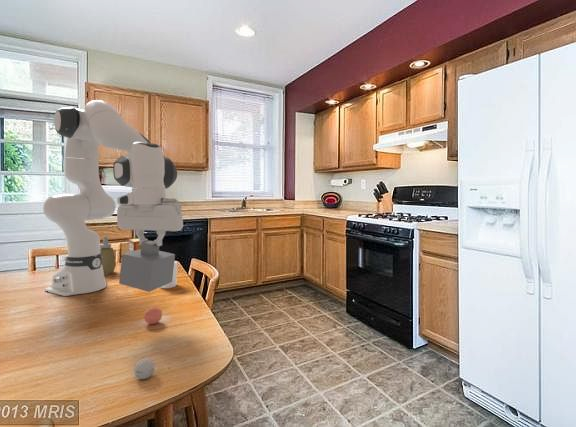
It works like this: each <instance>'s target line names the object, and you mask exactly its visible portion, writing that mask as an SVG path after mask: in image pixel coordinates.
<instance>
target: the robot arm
mask: <svg viewBox="0 0 576 427" xmlns="http://www.w3.org/2000/svg"><path fill="white" fill-rule="evenodd" d="M53 126H54V129H55V131H56V132H57V134H58V135H60V136H62V137H63V138H64V137H65V138H66V143H65V151H64V152H65V153H64V162H65V164H64V165H65V166H64V171H65V172H64V174H65V177H66V179H67V180H68V181H69V182H71V183H72V184H74V185H76V186H77V187H78V189H79V193H60V194H56V195H51V196H48V198H46V200H45V201H44V203H43V206H42V207H43V214H44V215H45V217H46V219H48V220H50V221H51V222H52V223H55V224H56V225H57V226H58V227H59V228H60V229H61V230H62V232H63V234H64V237H65V239H66V246H67V255H66V257H63V258H62V260H63V261H65V262H64V266H63V267H61V269H58V271H57V272H55V273H54V274H53V275H52V280H51V283H52V284H51V285H50V286H47V287H46V288H45V289H44V291H45V292H47V291H48V293H51V294H55V295H59V296H63V297H68V296H73V295H74V296H75V295H81V294H82V295H83V294H89V293H94V292H97V291H100V290H103V289H105V288H107V283H108V282H107V279H105V274H104V271H103V266H102V264H101V262H102V253H100V244H101V240H100V235H99V233H98V232H96V231H95V230H94V229H93V230H92V229H89V228H88V226H87V224H86V221H96V220H102V219H106V218H109V217H112V216H113V215H114V213H115V212H116V222H117V223H116V224H117V226H118V229H120V230H128V231H131V230H132V231H135V232H134V233H135V235H136V237H137V239H139V244H140V245H141V244H142V242H145V241H149V239H148V238H146V237H145V234H144V233H145V231H156V235H157V237H156V239H154V240H153V241H154V246H159V247H161V246H163V239H164V237H165V235H166V234H167V233H166V232H178V231H181V230H182V229H183V227H184V221H183V220H184V219H183V213H182V203H181V202H180V200H177V198H167V197H166V189H169V188H170V187H172V185H173V184H174V183H175V182H176V180H177V178H178V169H177V167H176V165H175V163H174V162H173V160H171V159H170V158H169V157H168V156H165V155H164V154H163V149H162V147H161V146H160V145H159V144H156V143H152V142H151V141H150V140H149V139H148V138H147V137H146V136H144V135H143V134H142V133H141V132H139V131H138V130H136V129H135V128H134V127H132V126H130V124H129V123H127V122H126V120H124V119H123V118H122V116H121V115H120V114H119V113H118V111H117V110H116V109H115V108H114V107H113V106H112V105H110V104H109V103H108V102H106V101H104V100H100V99H98V100H97V99H96V100H95V99H94V100H91V101H89V102H88V103H86V105H85V106H84V109H82V108H81V109H80V108H76V107H60V108H59V109H57V110H56V111H55V114H54V117H53ZM99 144H100V145H102V146H103V147H106V148H108V149H113V150H118V151H124V152H128V153H126V154H125V155H121V156H120V157H118V158H117V159H116V160H115V161H114V162H113V166H112V170H113V171H112V172H113V173H112V174H113V177H114V180H115V181H116V182H117V183H118V185H120V186H122V187H126V188H131V191H130V192H128V193H125V194H123V195H120V196H118V197H117V199H116V200H117V202H116V201H115V200H114V198H113V197H112V196H111V195H110V194H108V193H107V192H106V191H105V189H104V188H103V185H102V183H101V181H100V180H101V179H100V171H99V165H100V164H99ZM116 203H117V204H118V205H119V206H118V207H117V209H116ZM63 261H62V262H63Z"/></svg>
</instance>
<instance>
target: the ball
mask: <svg viewBox="0 0 576 427" xmlns="http://www.w3.org/2000/svg"><path fill="white" fill-rule="evenodd" d="M143 318H144V321H145V322H146V323H147V324H150V325H155V324H157V323H159V322H160V321H161V320H162V318H163V312H162V310H161V308H159V307H158V306H151V307H149V308H147V309H146V311H144V314H143Z"/></svg>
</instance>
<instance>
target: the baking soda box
mask: <svg viewBox="0 0 576 427" xmlns="http://www.w3.org/2000/svg"><path fill="white" fill-rule="evenodd" d="M140 249H141V245H140V244H139V239H138V238H133V239H132V238H131V239H128V252H132V251H136V250H140Z"/></svg>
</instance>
